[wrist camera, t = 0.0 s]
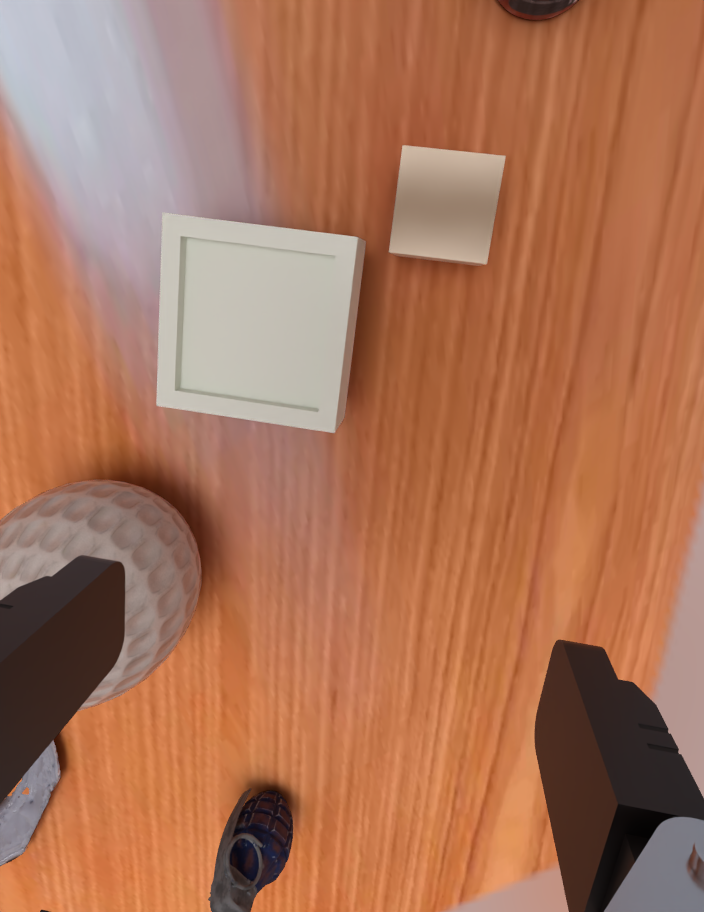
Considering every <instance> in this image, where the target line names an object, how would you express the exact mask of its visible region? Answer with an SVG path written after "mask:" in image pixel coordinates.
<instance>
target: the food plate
mask: <svg viewBox="0 0 704 912" xmlns="http://www.w3.org/2000/svg"><path fill="white" fill-rule="evenodd" d="M54 744H55V743H54V740H53V741H52V742H51V743H50V745H49V746H48V747H47V748H46V749H45V751H44V752H43V753H42V754H41V755H40V757H39V758H38V759H37V760H36V761H35V763H34V764H33V765H32V766H31V767H30V769H29V770H28V771H27V772H26V773H25V775H24V776H23V777H22V782H20V783H19V785H17V787H16V790H15V792H13V793H12V796H6V799H4V800H3V801H2V802H1V804H0V866H2V865H3V864H5V863H8V862H10V861H12V860H14V859H15V858H17V857H18V856H20V855H22V854H23V852H24V851H25V848H26V846H27V845H28V843H29V841H30V838H31V836H32V834H33V832H34V830H35V828H36V826H37V824H38V822H39V820H40V818H41V816H42V813H43V810H44V809H45V807H46V805H47V803H48V802H49V798H50V796H51V794H52V793H51V794H50V792H51V791H53V790H54V789H53V786H54V785H55V786H56V784H57V783H58V781H59V779H60V765H59V761H58V755H57V752H56V745H54ZM55 783H56V784H55ZM26 787H28V788H29V795H23V794H22V792H23V791H24V790H25V789H26ZM54 788H55V787H54Z"/></svg>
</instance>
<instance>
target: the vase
mask: <svg viewBox="0 0 704 912" xmlns="http://www.w3.org/2000/svg"><path fill="white" fill-rule="evenodd" d="M80 555H86V556H91V557H97V558H103V559H108V560H114V561H119V562H121V563H122V564H123V565H124V568H125V637H124V643H123V647H122V650H121V653H120V656H119V658H118V660H117V662H116V664H115V666H114V667H113V668H112V670H111V671H110V672H109V673H108V675H107V676H106V677H105V678H104V679H103V681H102V682H101V683H100V684H99V685H98V687H97V688H96V689H95V690H94V691H93V693H92V694H91V695H90V696H89V697H88V699H87V700H86V701H85V702H84V704H83V705H82V706H81V707H80V708H79V710H83V709H87V708H90V707H94V706H97V705H99V704H102V703H104V702H106V701H109V700H111V699H113V698H116V697H118V696H120V695H122V694H124V693H125V692H127V691H129V690H130V689H132V688H133V687H135V686H136V685H138V684H139V683H141V682H142V681H144V680H145V679H147V678H148V677H149V676H150V675H151V674H152V673H153V672H154V671H155V670H156V669H157V668H158V667H159V666H160V665H161V664H162V663H163V662H164V661H165V660H166V659H167V658H168V657H169V655H170V654H171V653H172V651H173V650H174V648H175V647H176V646H177V644H178V643H179V641H180V640H181V638H182V637H183V636H184V634H185V632H186V630H187V628H188V626H189V624H190V622H191V620H192V618H193V615H194V613H195V611H196V606H197V602H198V598H199V593H200V589H201V579H202V571H201V562H200V555H199V550H198V546H197V543H196V540H195V537H194V535H193V533H192V531H191V529H190V527H189V525H188V524H187V522H186V521H185V519H184V518H183V516H182V515H181V514H180V513H179V512H178V510H177V509H176V508H175V507H174V506H172V505H171V504H170V503H169V502H168V501H166V500H165V499H163V498H162V497H160V496H159V495H157V494H156V493H154V492H152V491H150V490H148V489H146V488H143V487H140V486H137V485H134V484H130V483H125V482H120V481H114V480H88V481H80V482H74V483H68V484H65V485H62V486H59V487H56V488H54V489H51V490H48V491H46V492H43V493H41V494H39V495H37V496H35V497H34V498H32V499H30V500H28V501H27V502H25V503H23V504H21V505H20V506H18V507H16V508H14V509H13V510H12V511H11V512H10V513H8V514H7V515H6V516H5V517H3V518H2V519H1V520H0V600H1V599H3V598H4V597H6V596H7V595H8V594H10V593H11V592H12V591H14V590H15V589H16V588H18V587H20V586H22V585H25V584H27V583H30V582H32V581H35V580H37V579H40V578H42V577H45V576H51V577H52V576H53V575H54V574H56V573H57V572H58V571H59V570H61V569H62V568H63V567H65V566H66V565H67V564H68V563H70V562H71V561H72V560H74V559H75V558H76V557H78V556H80ZM79 710H78V711H79Z"/></svg>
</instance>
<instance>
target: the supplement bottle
mask: <svg viewBox="0 0 704 912" xmlns="http://www.w3.org/2000/svg"><path fill="white" fill-rule="evenodd" d="M498 1H499V3H500V4H501V5H502V6H503V7H504V8H505V9H506V10H508V11H509V12H510V13H512V14H513V15H515V16H518V17H521V18H525V19H531V20H541V19H547V18H551V17H554V16H556V15H559V14H561V13H563V12H565V11H566V10H568V9H569V8H570V7H572V6H573V5H574V4H575V3H577V2H578V1H579V0H498Z"/></svg>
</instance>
